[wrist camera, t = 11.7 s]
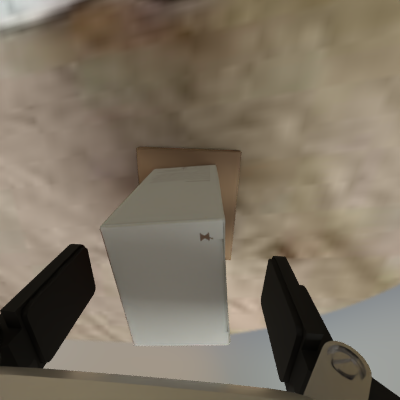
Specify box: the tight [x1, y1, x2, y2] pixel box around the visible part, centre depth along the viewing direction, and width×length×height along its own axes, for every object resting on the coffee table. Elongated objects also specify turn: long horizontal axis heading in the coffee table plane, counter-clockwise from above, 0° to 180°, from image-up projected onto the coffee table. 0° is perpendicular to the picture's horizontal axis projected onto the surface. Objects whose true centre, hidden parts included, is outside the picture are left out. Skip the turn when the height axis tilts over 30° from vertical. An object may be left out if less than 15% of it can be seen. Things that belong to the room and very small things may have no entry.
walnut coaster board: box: [136, 147, 242, 260], centre depth 21 cm, size 11×9×1 cm
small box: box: [100, 165, 230, 346], centre depth 15 cm, size 8×6×10 cm
